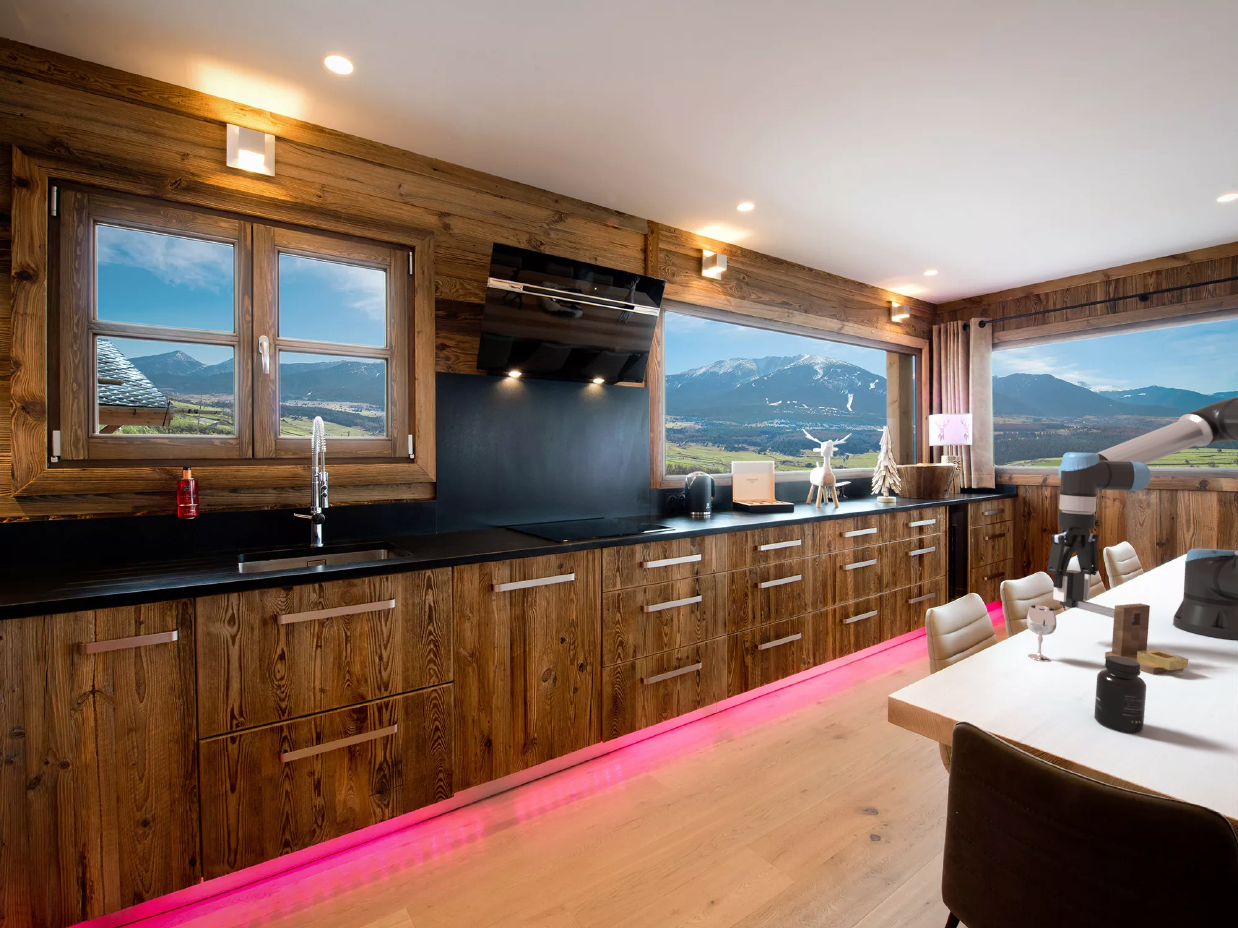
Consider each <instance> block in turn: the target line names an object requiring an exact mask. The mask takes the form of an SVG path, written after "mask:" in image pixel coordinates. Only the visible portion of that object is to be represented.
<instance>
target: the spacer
mask: <svg viewBox="0 0 1238 928" xmlns="http://www.w3.org/2000/svg"><path fill="white" fill-rule="evenodd" d="M1137 660H1139V661H1142V662H1145V663H1148V664H1152V665H1155V666H1158V667H1161V668H1164V669H1167V670H1176V669H1183V670H1184V669H1188V668H1189V658H1186V657H1182V656H1179V655H1176V654H1173V653H1169V652H1165V651H1163V650H1160V649H1156V648H1154V649H1153V648H1152V649H1147V650H1143V651H1137Z"/></svg>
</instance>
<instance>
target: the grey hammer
mask: <svg viewBox="0 0 1238 928" xmlns="http://www.w3.org/2000/svg"><path fill="white" fill-rule="evenodd" d="M1064 576H1067V591H1066V602H1062V601H1059V605H1060V606H1063V607H1067V608H1071V609H1073V608H1074V609H1075V608H1076V609H1079V610H1084V611H1087V612H1090V613H1094V614H1098V615H1100V616H1104V617H1105V616H1106V617H1108V618H1113V619H1114V610H1115V608H1112V607H1109V606H1106V605H1105V606H1104V605H1101V604H1097V603H1093V602H1089V601H1087V600H1084V599H1083V596H1084V580H1085V572H1081V571H1079V570H1074V569H1068V570H1066V573H1065V575H1064ZM1134 621H1135V614H1133V616H1132V622H1134Z"/></svg>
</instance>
